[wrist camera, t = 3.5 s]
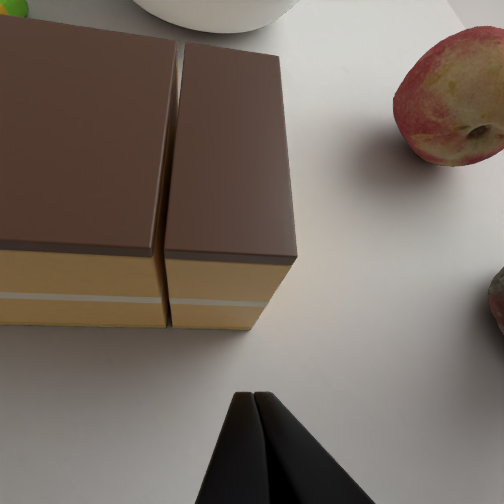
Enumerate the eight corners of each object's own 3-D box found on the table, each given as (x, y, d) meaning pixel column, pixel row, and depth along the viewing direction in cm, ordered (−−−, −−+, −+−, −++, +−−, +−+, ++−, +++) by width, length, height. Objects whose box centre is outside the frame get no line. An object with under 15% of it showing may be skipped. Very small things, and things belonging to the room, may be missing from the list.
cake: (166, 328, 16) (152, 249, 9) (-27, 324, 15) (-217, 228, 8) (180, 175, 20) (177, 39, 13) (30, 161, 19) (-61, 3, 12)
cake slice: (251, 330, 17) (298, 258, 10) (172, 328, 16) (162, 250, 9) (247, 138, 22) (275, 6, 15) (188, 132, 22) (190, -9, 15)
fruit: (360, 158, 23) (435, 42, 16) (387, 95, 27) (457, -22, 20) (467, 209, 23) (591, 111, 16) (479, 138, 27) (585, 33, 20)
